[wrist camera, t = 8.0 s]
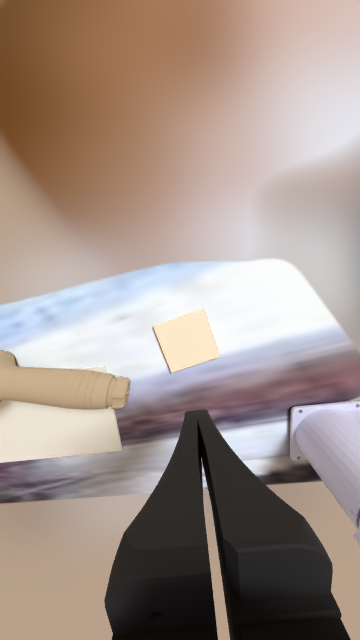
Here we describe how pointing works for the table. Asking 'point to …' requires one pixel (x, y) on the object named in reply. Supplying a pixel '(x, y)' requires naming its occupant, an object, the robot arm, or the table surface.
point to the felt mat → (55, 430)
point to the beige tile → (187, 340)
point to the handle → (61, 386)
